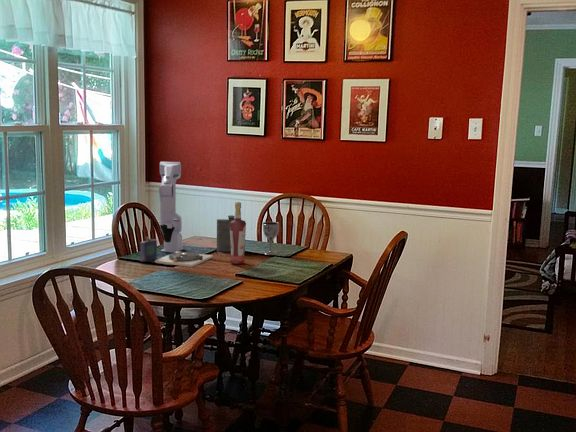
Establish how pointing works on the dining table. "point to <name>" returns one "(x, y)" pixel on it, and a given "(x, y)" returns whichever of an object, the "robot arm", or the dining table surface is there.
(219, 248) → the flask
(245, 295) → the dining table surface
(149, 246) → the blue grey box
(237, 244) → the liquor
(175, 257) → the flange plate
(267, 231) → the wine glass
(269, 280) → the dining table surface
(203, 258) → the base board
